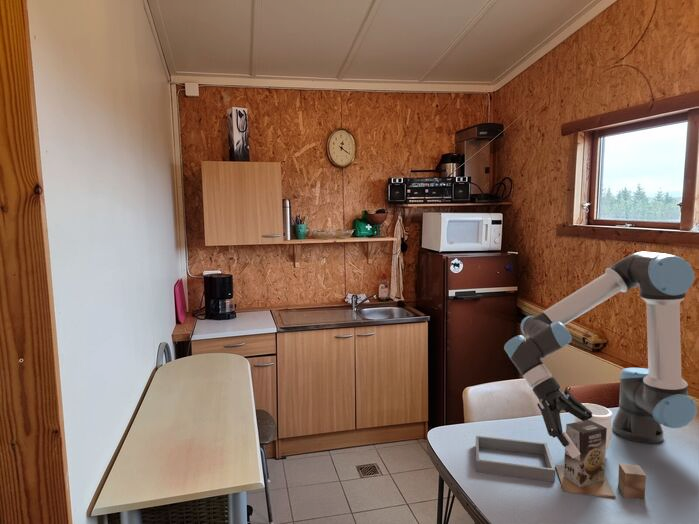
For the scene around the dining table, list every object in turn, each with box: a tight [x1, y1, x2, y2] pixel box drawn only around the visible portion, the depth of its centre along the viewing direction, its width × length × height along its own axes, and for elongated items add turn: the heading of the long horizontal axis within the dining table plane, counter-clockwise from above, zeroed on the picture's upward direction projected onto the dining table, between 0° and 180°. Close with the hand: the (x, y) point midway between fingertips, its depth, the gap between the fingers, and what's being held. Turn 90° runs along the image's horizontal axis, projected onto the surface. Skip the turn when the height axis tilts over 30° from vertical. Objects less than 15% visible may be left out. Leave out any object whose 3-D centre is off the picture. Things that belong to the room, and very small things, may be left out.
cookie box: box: [563, 420, 607, 487], centre depth 131 cm, size 9×6×16 cm
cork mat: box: [554, 464, 616, 499], centre depth 131 cm, size 13×13×1 cm
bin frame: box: [475, 435, 556, 483], centre depth 142 cm, size 22×16×4 cm
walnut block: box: [617, 462, 647, 501], centre depth 125 cm, size 5×5×7 cm
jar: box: [573, 402, 613, 460], centre depth 145 cm, size 11×10×15 cm
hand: (589, 448), depth 129 cm, fingers open, 13 cm apart
